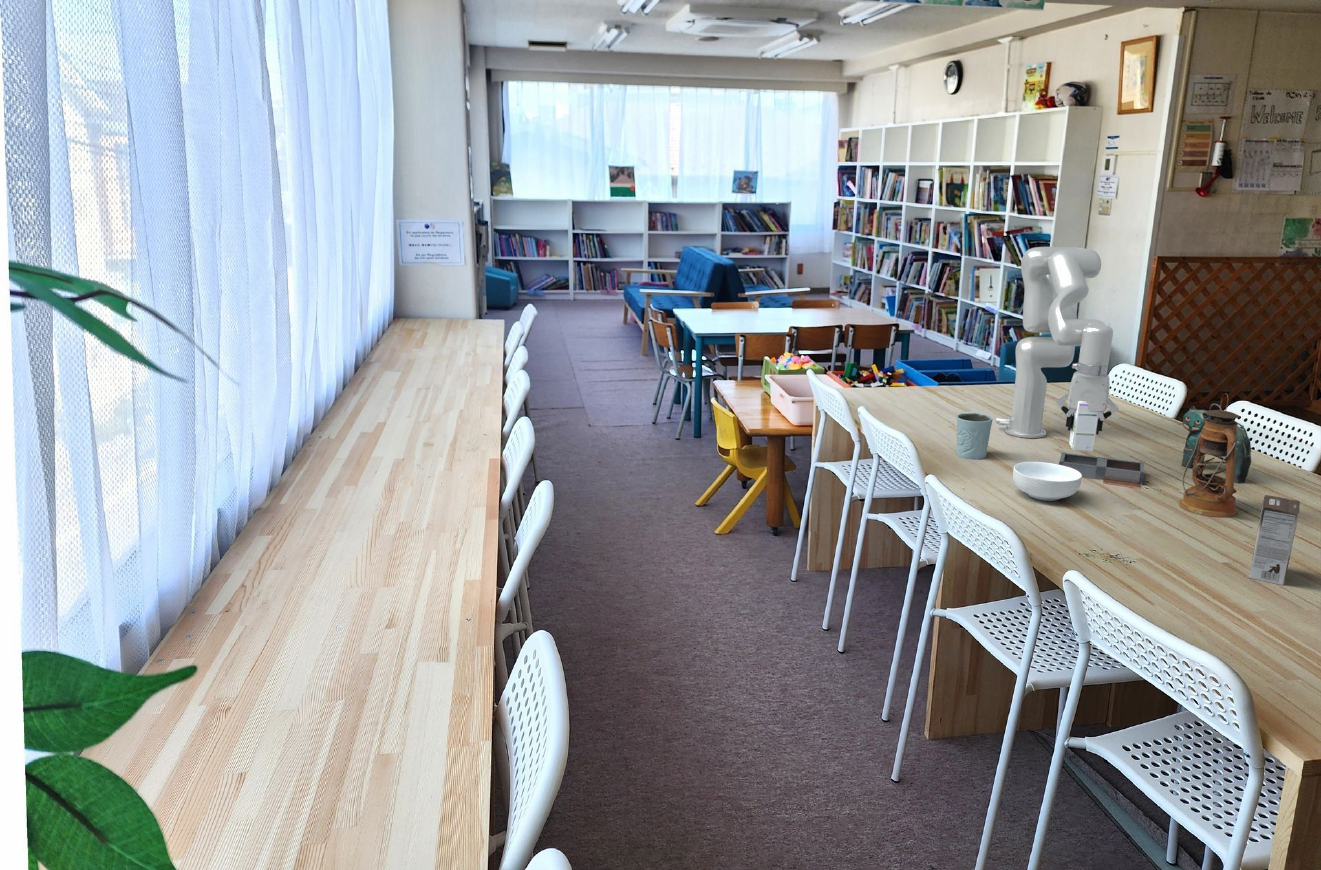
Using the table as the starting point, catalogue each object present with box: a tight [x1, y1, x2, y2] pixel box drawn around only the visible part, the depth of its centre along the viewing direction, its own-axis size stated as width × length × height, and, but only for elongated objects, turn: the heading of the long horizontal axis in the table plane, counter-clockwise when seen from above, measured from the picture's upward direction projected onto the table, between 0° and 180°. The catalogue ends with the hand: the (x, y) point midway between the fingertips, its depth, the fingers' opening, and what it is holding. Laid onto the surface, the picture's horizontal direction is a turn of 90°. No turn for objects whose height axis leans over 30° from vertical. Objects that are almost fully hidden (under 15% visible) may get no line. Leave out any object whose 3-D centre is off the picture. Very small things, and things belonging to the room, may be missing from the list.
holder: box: [1058, 452, 1146, 489], centre depth 262 cm, size 22×14×4 cm, turn 64°
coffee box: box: [1249, 494, 1301, 586], centre depth 196 cm, size 9×6×16 cm
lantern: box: [1178, 393, 1240, 518], centre depth 233 cm, size 17×13×30 cm
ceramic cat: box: [1181, 403, 1252, 484], centre depth 263 cm, size 20×6×20 cm, turn 22°
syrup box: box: [1068, 401, 1099, 453], centre depth 263 cm, size 6×6×14 cm
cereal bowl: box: [1012, 461, 1083, 502], centre depth 245 cm, size 17×17×7 cm
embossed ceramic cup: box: [955, 412, 993, 460], centre depth 279 cm, size 10×10×12 cm
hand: (1083, 430), depth 263 cm, fingers closed on syrup box, 6 cm apart
